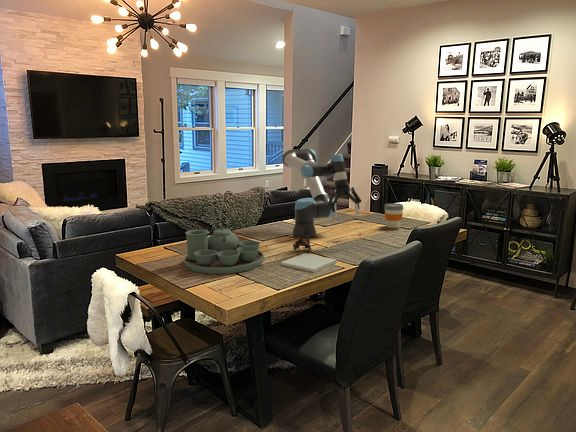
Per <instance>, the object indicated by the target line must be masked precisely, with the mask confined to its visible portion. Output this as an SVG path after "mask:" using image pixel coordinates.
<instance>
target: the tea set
mask: <svg viewBox="0 0 576 432" xmlns="http://www.w3.org/2000/svg"><path fill="white" fill-rule="evenodd" d="M184 233H185V235H186V250H187V251H186V252H187V254H186V255H185V258H184V264H183V265H184V266H185V268H187V269H188V270H190V271H193V272H194V273H203V274H207V275H208V274H209V275H223V274H224V275H225V274H227V275H231V274H237V273H241V272H242V273H243V272H248V271H250V270H253V269H255V268H257V267H259V266H261V265H262V263H263V261H264V259H265V254H264V253H263V252H262V251H260V249H259V248H260V245H261V242H259V241H257V240H243V241H240V240H239V237H238V236H237V235H236V234H234V233H232V230H230V229H229V228H228V229H226V228H224V227H221V228H220V229H219V228H218V229H216V230H213V232H212V234H211V235H210V233H211V232H210V231H208V230H206V229H191V230H187V231H185V232H184Z"/></svg>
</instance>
